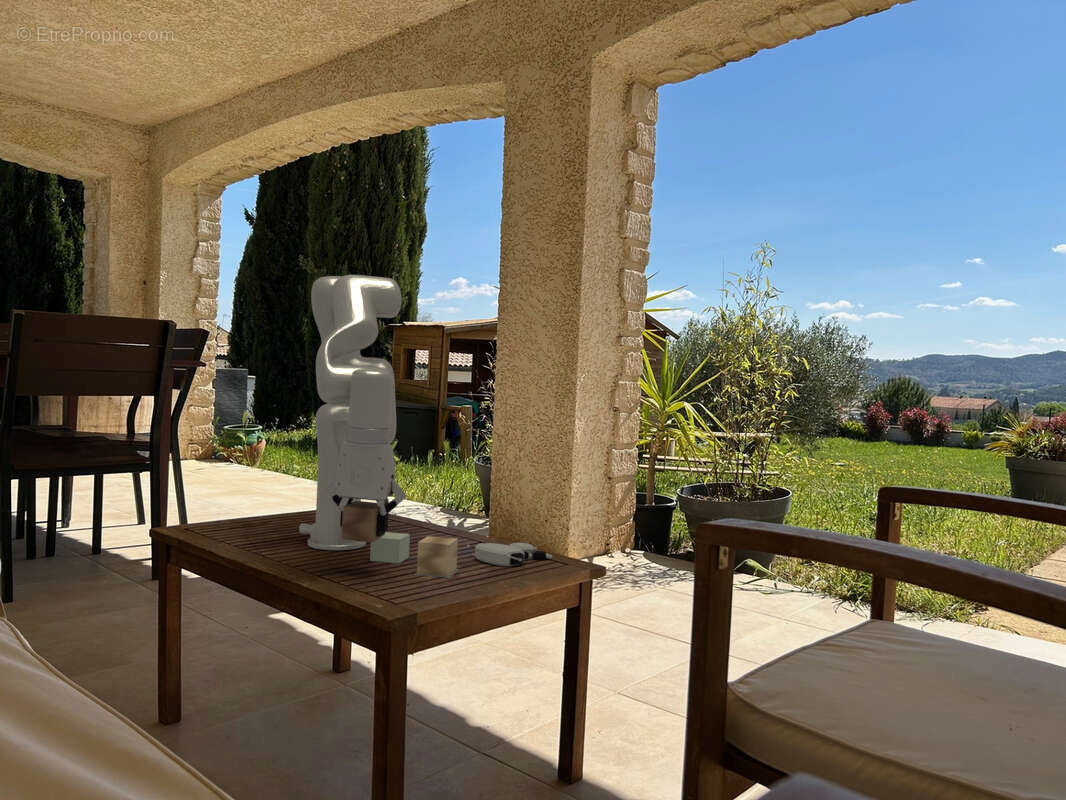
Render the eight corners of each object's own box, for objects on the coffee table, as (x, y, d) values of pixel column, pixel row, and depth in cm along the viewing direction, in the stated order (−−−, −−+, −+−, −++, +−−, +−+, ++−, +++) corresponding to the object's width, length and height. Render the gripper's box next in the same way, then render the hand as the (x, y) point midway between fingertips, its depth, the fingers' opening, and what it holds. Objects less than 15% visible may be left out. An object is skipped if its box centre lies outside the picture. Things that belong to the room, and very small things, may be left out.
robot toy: (513, 559, 175) (462, 563, 164) (515, 538, 175) (464, 541, 164) (555, 570, 166) (504, 575, 155) (557, 548, 166) (506, 552, 155)
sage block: (369, 567, 158) (371, 537, 158) (380, 560, 164) (381, 531, 164) (398, 569, 157) (399, 539, 157) (408, 563, 163) (409, 534, 162)
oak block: (416, 574, 149) (418, 542, 149) (426, 566, 155) (427, 536, 154) (447, 576, 148) (449, 544, 148) (456, 569, 154) (457, 538, 153)
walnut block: (341, 539, 145) (343, 506, 144) (354, 531, 151) (356, 500, 150) (372, 542, 144) (374, 509, 143) (384, 535, 150) (386, 503, 149)
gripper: (315, 434, 144) (311, 532, 145) (406, 442, 141) (401, 542, 142) (333, 430, 151) (328, 523, 152) (420, 438, 148) (414, 533, 149)
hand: (363, 532), depth 147 cm, fingers closed on walnut block, 6 cm apart
